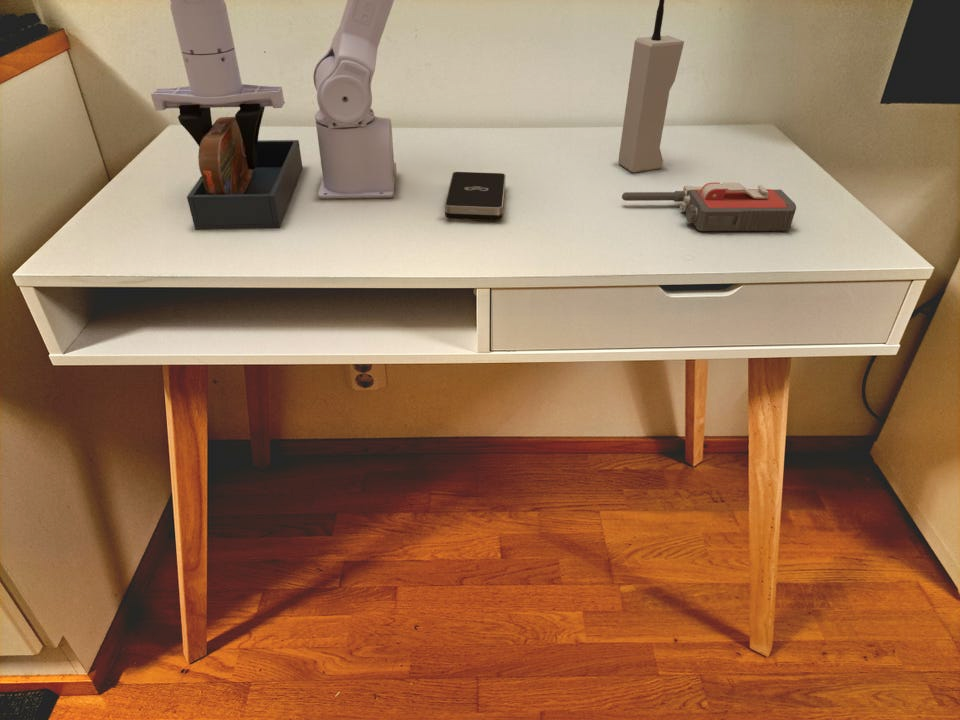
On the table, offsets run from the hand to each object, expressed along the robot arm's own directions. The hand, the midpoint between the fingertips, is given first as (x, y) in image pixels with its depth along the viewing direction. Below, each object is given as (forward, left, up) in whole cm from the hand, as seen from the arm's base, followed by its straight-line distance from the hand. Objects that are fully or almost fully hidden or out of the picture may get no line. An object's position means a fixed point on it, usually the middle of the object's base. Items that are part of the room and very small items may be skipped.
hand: (234, 167), depth 84 cm
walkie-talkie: (-58, +9, -4) cm, 59 cm away
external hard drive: (-30, +4, -4) cm, 30 cm away
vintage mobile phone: (-54, -8, -4) cm, 55 cm away
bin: (-2, 0, -4) cm, 4 cm away
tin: (+1, 0, -4) cm, 4 cm away
